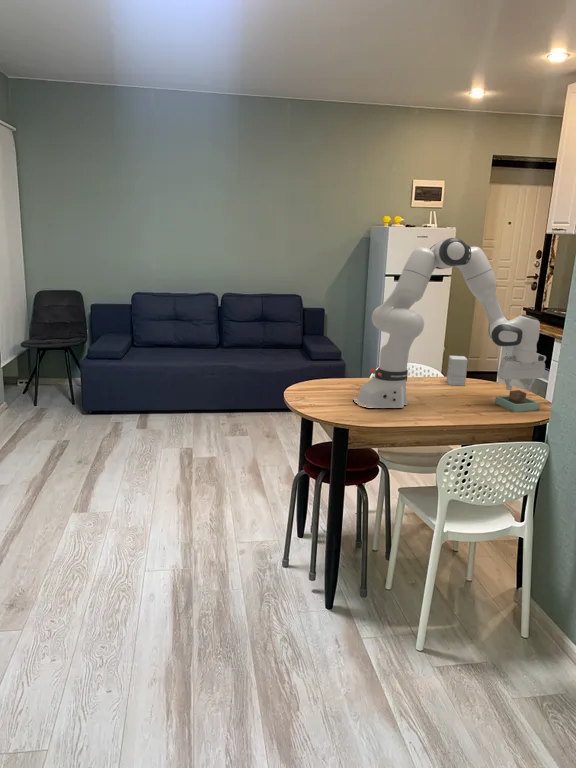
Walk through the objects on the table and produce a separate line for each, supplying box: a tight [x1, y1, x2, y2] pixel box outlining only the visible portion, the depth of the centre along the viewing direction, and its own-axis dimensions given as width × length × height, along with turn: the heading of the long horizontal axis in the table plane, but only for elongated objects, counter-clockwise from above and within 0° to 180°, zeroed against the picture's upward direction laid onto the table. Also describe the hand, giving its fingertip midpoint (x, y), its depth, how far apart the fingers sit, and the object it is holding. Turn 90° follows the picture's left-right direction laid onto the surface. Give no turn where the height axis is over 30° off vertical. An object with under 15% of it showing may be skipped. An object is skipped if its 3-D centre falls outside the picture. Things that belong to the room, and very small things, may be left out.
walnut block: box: [508, 389, 527, 404], centre depth 237 cm, size 4×4×6 cm
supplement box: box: [446, 355, 469, 387], centre depth 268 cm, size 7×7×13 cm
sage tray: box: [494, 395, 541, 413], centre depth 237 cm, size 12×12×3 cm
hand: (518, 389), depth 235 cm, fingers open, 8 cm apart
